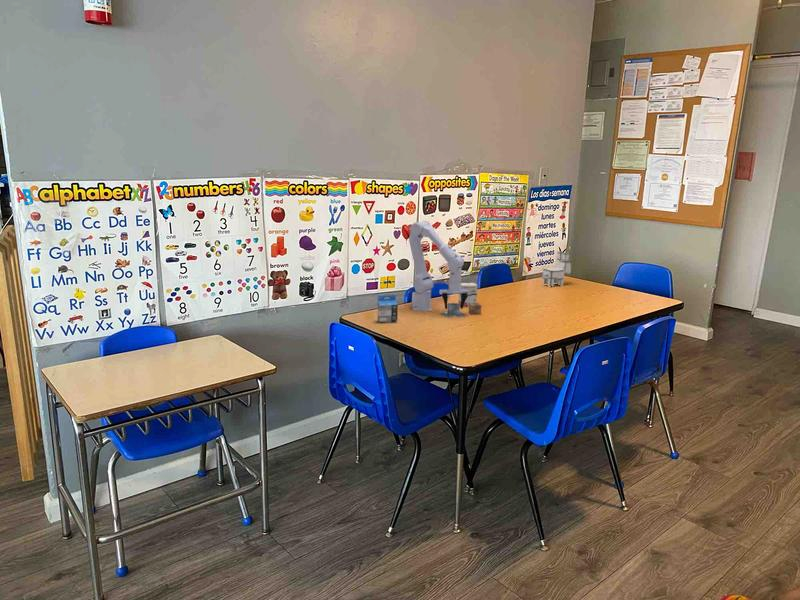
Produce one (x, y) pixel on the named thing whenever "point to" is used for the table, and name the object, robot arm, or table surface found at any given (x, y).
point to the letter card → (453, 316)
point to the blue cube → (453, 309)
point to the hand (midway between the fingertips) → (453, 308)
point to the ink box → (472, 296)
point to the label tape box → (387, 308)
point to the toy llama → (557, 270)
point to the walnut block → (475, 308)
